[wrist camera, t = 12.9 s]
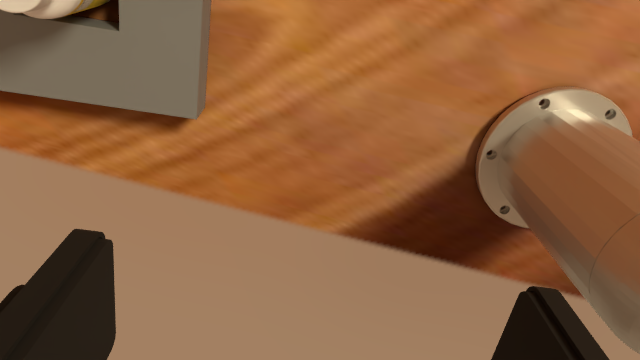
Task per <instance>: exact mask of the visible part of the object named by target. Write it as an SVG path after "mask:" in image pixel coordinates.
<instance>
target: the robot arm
mask: <svg viewBox="0 0 640 360" xmlns="http://www.w3.org/2000/svg"><path fill="white" fill-rule="evenodd" d="M541 100H542V102H541V103H540V104H539V102H540V101H541ZM490 150H491V151H490ZM488 151H490V152H489V153H487V152H488ZM475 170H476V181H477V185H478V189H479V191H480V193H481V195H482V197H483V199H484V201H485V202H486V203H487V205H488V206H489V207H490V209H491V210H492V211H493V212H494V213H495V214H496V215H497V216H499V217H500V218H502V219H503V220H505V221H507V222H509V223H510V224H513V225H516V226H519V227H523V228H530V229H531V231H532V232H533V233H534V234H535V236H536V237H537V238H538V239H539V241H540V242H541V243H542V244H543V246H544V247H545V248H546V250H547V251H548V252H549V253H550V255H551V256H552V257H553V258H554V260H555V261H556V262H557V263H558V265H559V266H560V267H561V268H562V270H563V271H564V272H565V274H566V275H567V276H568V277H569V279H570V280H571V281H572V282H573V284H574V285H575V286H576V287H577V289H578V290H579V291H580V292H581V294H582V295H583V296H584V297H585V299H586V300H587V301H588V302H589V304H590V305H591V306H592V308H593V309H594V310H595V311H596V313H597V314H598V315H599V316H600V317H601V318H602V320H603V321H604V322H605V323H606V324H607V326H608V327H609V328H610V330H611V331H612V332H613V333H614V334H615V335H616V336H617V337H618V338H619V339H620V340H621V341H623V343H625V344H626V345H627V346H628V347H630V348H631V349H632V350H634V351H635V352H637V353H639V354H640V141H638V140H636V139H634V138H633V137H632V130H631V128H630V125H629V122H628V119H627V118H626V116H625V115H624V113H623V112H622V110H621V109H620V108H619V107H618V106H617V105H616V104H615V103H613V102H612V101H611V100H610V99H608V98H606V97H604V96H602V95H601V94H598V93H596V92H593V91H591V90H588V89H585V88H579V87H572V86H571V87H555V88H550V89H545V90H541V91H539V92H536V93H534V94H531V95H529V96H526V97H525V98H523V99H521V100H520V101H518V102H516V103H515V104H513V105H512V106H510V107H509V108H508V109H507V110H506V111H505V112H503V113H502V114H501V115H500V116H499V117H498V118H497V120H496V121H495V122H494V123H493V124H492V125H491V127H490V128H489V130H488V131H487V133H486V135H485V136H484V138H483V140H482V143H481V145H480V148H479V150H478V153H477V159H476V165H475ZM113 264H114V261H113V243H112V241H111V240H108V239H105V235H104V234H103V232H98V231H90V230H82V229H74V230H73V231H72V232H71V233H70V234H69V235H68V236H67V237H66V238H65V240H64V241H63V242H62V243H61V244H60V245H59V247H58V248H57V249H56V250H55V251H54V252H53V253H52V255H51V256H50V257H49V258H48V259H47V260H46V262H45V263H44V264H43V265H42V266H41V267H40V268H39V269H38V271H37V272H36V273H35V274H34V275H33V276H32V278H31V279H30V280H29V281H28V282H27V283H26V284H25V285H20V286H17V287H16V288H14V289H13V290H12V291H11V292H10V293H9V294H8V295H7V296H6V297H5V299H4V300H3V301H2V302H1V303H0V360H107V358H108V356H109V354H110V352H111V350H112V347H113V345H114V340H115V334H116V327H115V296H114V295H115V293H114V265H113ZM491 360H609V358H608V357H607V356H606V354H605V353H604V352H603V350H602V349H601V348H600V346H599V345H598V343H597V342H596V341H595V340H594V338H593V337H592V335H591V334H590V333H589V331H588V330H587V328H586V327H585V326H584V324H583V323H582V322H581V320H580V319H579V318H578V316H577V315H576V313H575V312H574V311H573V309H572V308H571V307H570V305H569V304H568V302H567V301H566V300H565V299H564V297H563V296H562V294H561V293H560V292H559V291H558V290H556V289H551V288H543V287H535V286H531V287H529V288H528V289H527V290H526V292H525V291H524V292H521V293H520V294H519V296H518V298H517V300H516V303H515V305H514V308H513V310H512V312H511V314H510V317H509V319H508V322H507V324H506V326H505V329H504V331H503V333H502V336H501V338H500V340H499V343H498V345H497V347H496V350H495V352H494V355H493V357H492V359H491Z"/></svg>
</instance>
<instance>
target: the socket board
mask: <svg viewBox="0 0 640 360" xmlns="http://www.w3.org/2000/svg"><path fill="white" fill-rule="evenodd" d="M210 11H211V0H119V23H116V22H110V21H104V20H98V19H91V18H85V17H79V16H73V15H67V16H63V17H59V18H54V19H39V18H34V17H30V16H28V15H25V14H23V13H11V12H6V11H3V10H0V91H7V92H14V93H20V94H27V95H34V96H41V97H48V98H55V99H61V100H68V101H75V102H82V103H89V104H95V105H102V106H109V107H116V108H123V109H130V110H136V111H143V112H150V113H157V114H164V115H170V116H177V117H184V118H191V119H197V118H198V116H199V115H200V114H201V112H202V111H203V109H204V108H205V96H206V79H207V62H208V45H209V28H210Z"/></svg>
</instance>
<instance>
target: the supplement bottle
mask: <svg viewBox="0 0 640 360" xmlns="http://www.w3.org/2000/svg"><path fill="white" fill-rule="evenodd" d="M109 1H110V0H0V10H3V11H6V12H11V13H23V14H25V15H28V16H30V17H34V18H39V19H54V18H59V17H63V16H67V15H70V14H73V13H77V12H80V11H84V10H87V9H91V8H94V7H97V6H100V5H103V4H105V3H107V2H109Z"/></svg>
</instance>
